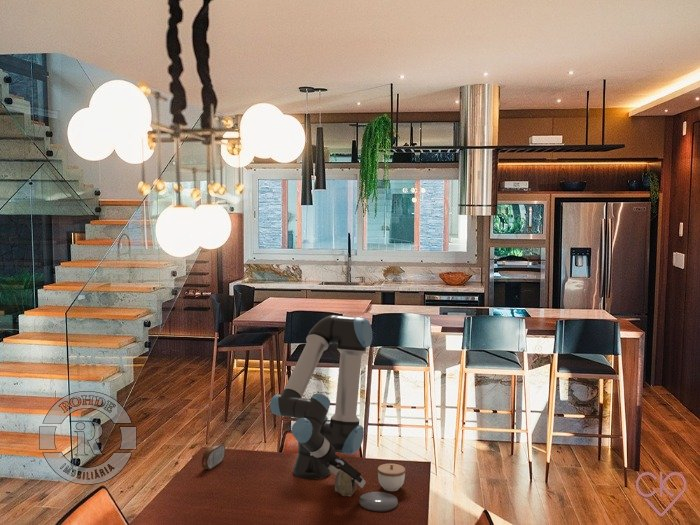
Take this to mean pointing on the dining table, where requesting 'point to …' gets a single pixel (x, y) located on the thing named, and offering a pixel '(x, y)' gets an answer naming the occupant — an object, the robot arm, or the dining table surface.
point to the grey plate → (378, 501)
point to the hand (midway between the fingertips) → (351, 479)
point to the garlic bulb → (344, 484)
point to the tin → (213, 456)
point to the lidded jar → (391, 476)
